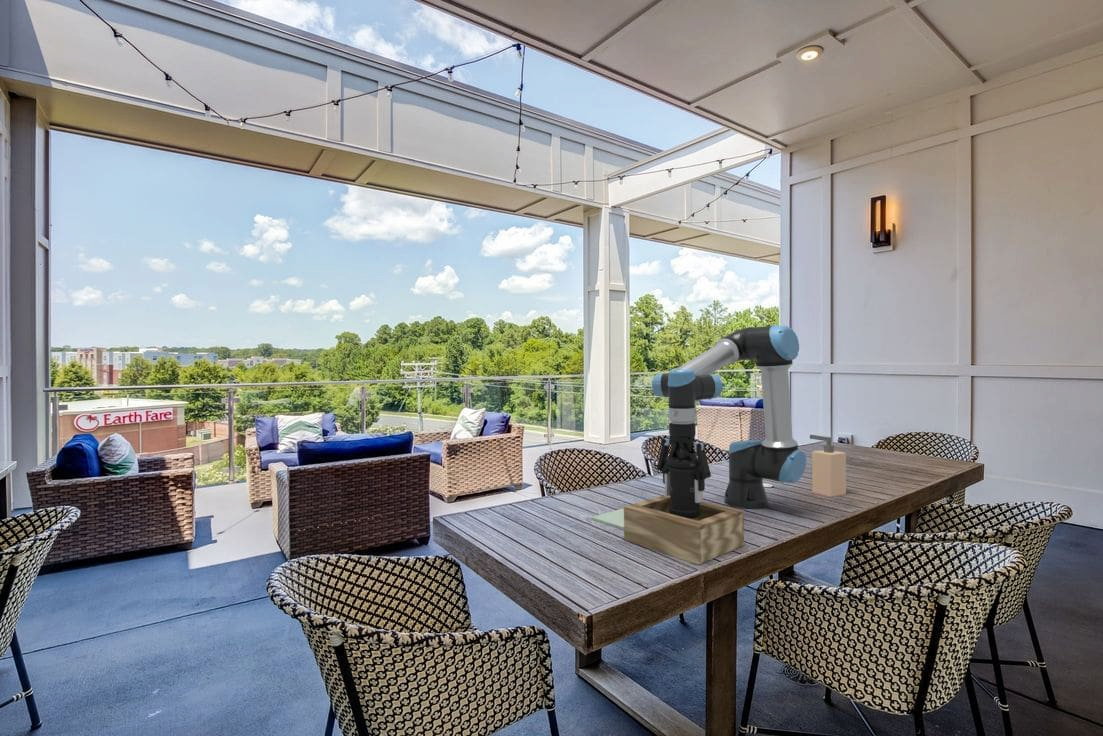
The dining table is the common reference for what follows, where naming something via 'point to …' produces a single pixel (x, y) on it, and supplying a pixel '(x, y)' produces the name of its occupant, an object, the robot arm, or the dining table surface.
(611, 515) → the board
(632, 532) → the crate
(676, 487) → the black shaker bottle
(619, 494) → the dining table surface
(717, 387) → the robot arm
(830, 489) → the soap dispenser
